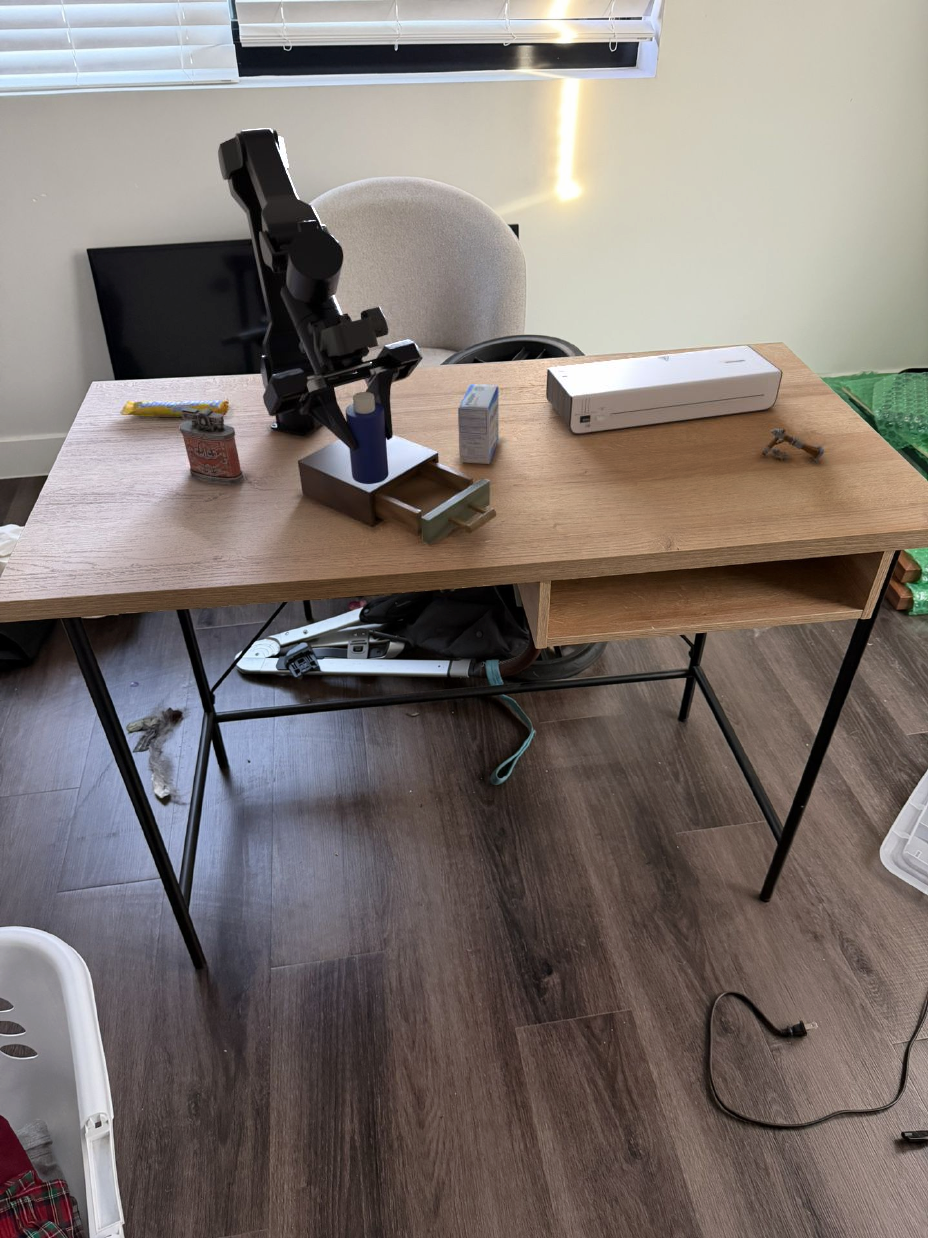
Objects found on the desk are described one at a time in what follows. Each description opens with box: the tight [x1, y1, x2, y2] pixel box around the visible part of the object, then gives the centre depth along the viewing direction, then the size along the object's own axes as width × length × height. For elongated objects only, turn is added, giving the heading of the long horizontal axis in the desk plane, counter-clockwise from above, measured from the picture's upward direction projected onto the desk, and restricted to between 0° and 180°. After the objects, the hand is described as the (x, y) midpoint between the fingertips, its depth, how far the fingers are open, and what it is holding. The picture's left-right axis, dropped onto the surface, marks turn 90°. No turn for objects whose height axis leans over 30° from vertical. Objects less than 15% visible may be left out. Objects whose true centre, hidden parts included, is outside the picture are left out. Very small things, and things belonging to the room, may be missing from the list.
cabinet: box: [297, 434, 440, 529], centre depth 115 cm, size 13×13×5 cm
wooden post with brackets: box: [761, 427, 825, 463], centre depth 121 cm, size 2×8×4 cm, turn 86°
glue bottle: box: [345, 391, 389, 484], centre depth 101 cm, size 4×4×10 cm
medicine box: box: [457, 383, 500, 465], centre depth 122 cm, size 8×4×9 cm, turn 168°
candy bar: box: [119, 397, 230, 418], centre depth 136 cm, size 17×4×2 cm, turn 91°
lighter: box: [178, 407, 245, 485], centre depth 117 cm, size 8×3×10 cm, turn 71°
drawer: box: [373, 461, 497, 546], centre depth 110 cm, size 16×12×4 cm
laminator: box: [545, 345, 784, 436], centre depth 133 cm, size 34×12×6 cm, turn 104°
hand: (372, 443), depth 100 cm, fingers closed on glue bottle, 4 cm apart
